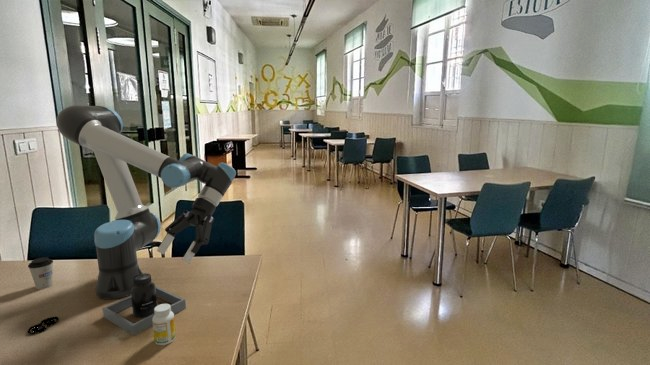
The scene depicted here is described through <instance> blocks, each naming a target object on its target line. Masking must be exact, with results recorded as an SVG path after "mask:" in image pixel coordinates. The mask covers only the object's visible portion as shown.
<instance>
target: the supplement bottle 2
mask: <svg viewBox="0 0 650 365" xmlns="http://www.w3.org/2000/svg"><path fill="white" fill-rule="evenodd" d="M170 305H171V304H169V303H161V304H157V306H156V307H155V308H154V313H155V315H154V316H153V318H152V322H153V326H152V330H153V332H152V333H153V340H154V344H155V345H156V346H165V345H169V344H170V343H172V342H173V341H175V339H176V334H177V333H176V323H175V314H174V313H173V312H172V311H171V306H170Z"/></svg>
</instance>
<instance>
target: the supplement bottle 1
mask: <svg viewBox="0 0 650 365" xmlns="http://www.w3.org/2000/svg"><path fill="white" fill-rule="evenodd" d="M133 281H134V282H133V284H134V285H133V286H132V288H131V295H130V296H131V301H132V306H131V310H132V316H133V317H134V318H136V319H144V318H146V317H148V316H150V315H152V314H154V308H155V307H156V306H158V300H157V299H158V297H157V296H156V287H157V285H156V283H155V282H153V281H152V275H151V274H150V273H147V272H146V273H144V272H143V274H139V275H136V276H135V277H134V278H133Z"/></svg>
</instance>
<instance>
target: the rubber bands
mask: <svg viewBox="0 0 650 365" xmlns="http://www.w3.org/2000/svg"><path fill="white" fill-rule="evenodd" d="M55 319H56V320H55ZM58 320H59V317H58V316H51V317H47V318H45V319H42V320H41V321H40V323H37V324H34V325H31V326H30V327H29V328H28V329H27V333H28V334H29V335H35V333H36V334H40V333H42V331H43V332H45V331H47V330H48V327H51V326H54V325H56V324H57V323H58ZM56 322H57V323H56ZM34 327H35V328H34ZM37 327H38V328H37ZM32 328H33V329H32ZM30 330H31V331H30ZM33 331H34V332H33ZM38 332H39V333H38Z"/></svg>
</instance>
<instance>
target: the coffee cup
mask: <svg viewBox="0 0 650 365" xmlns="http://www.w3.org/2000/svg"><path fill="white" fill-rule="evenodd" d="M53 262H54V261H53V259H52V258H49V256H43V257H37V258H35V259H33V260H31V262H30V263H28V265H27V268H29V271H30V274H31V278H32V280H33V282H34V286H35V289H36V288H37V289H36V290H45V289H48V288H50V287H52V286H53V285H54V284H53Z"/></svg>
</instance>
